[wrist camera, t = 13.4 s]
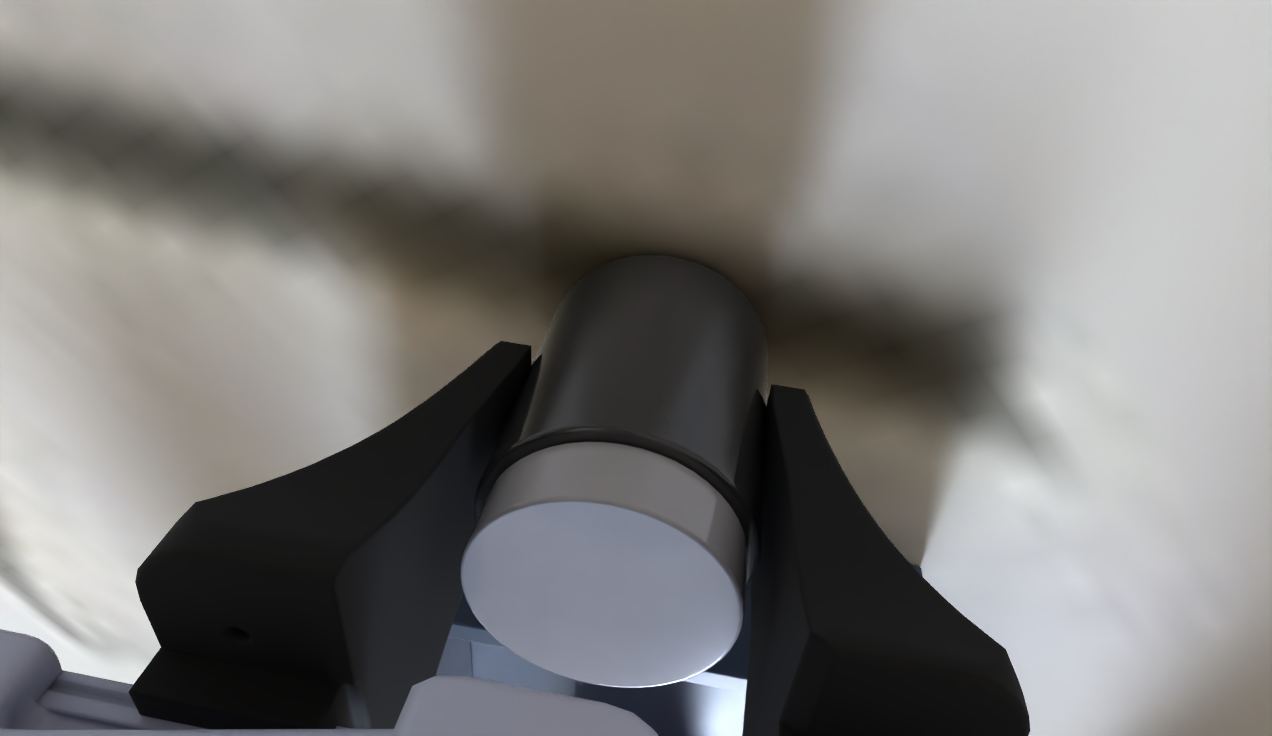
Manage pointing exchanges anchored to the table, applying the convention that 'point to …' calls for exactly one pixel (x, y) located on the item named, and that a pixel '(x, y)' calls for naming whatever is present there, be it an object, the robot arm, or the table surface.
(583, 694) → the bin
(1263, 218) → the table surface
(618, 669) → the pepper shaker
